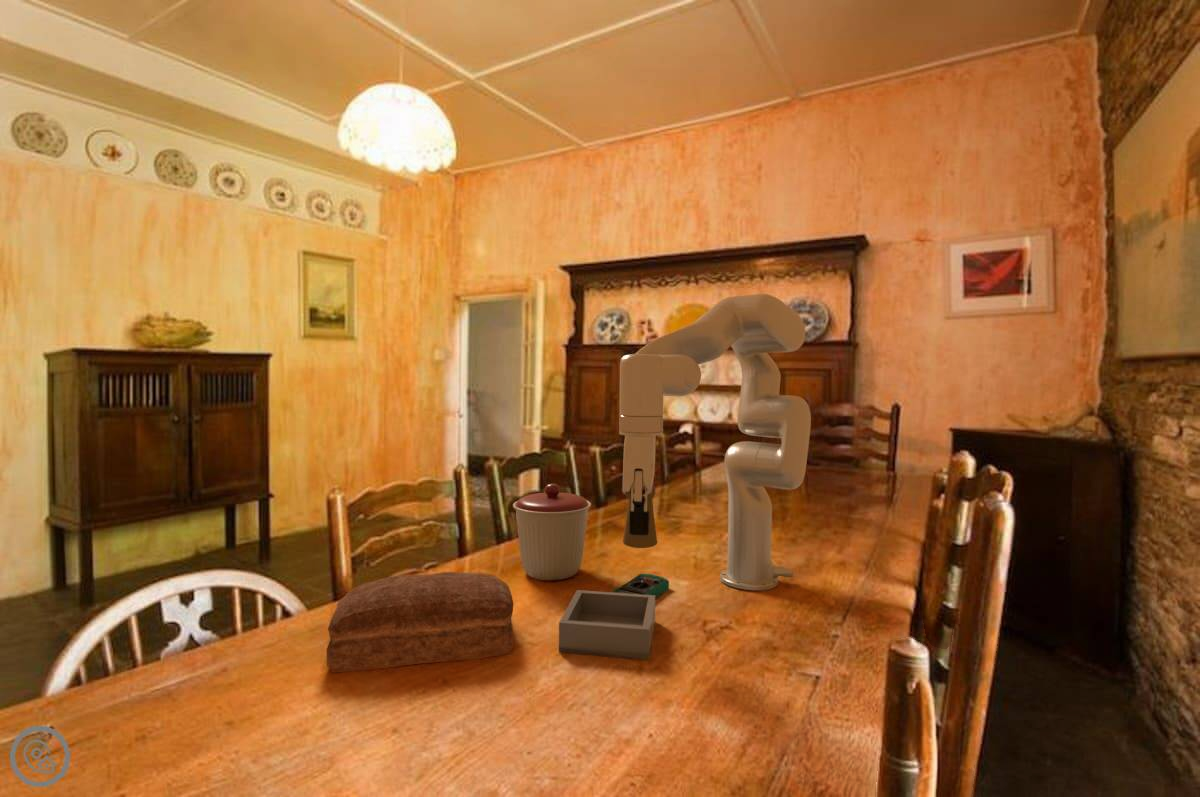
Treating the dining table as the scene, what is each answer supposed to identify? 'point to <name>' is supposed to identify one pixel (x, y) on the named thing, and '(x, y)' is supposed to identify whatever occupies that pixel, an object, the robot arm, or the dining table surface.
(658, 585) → the digital multimeter
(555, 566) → the canister
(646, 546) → the tan piece
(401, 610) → the bread
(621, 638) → the gray square tray
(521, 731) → the dining table surface
